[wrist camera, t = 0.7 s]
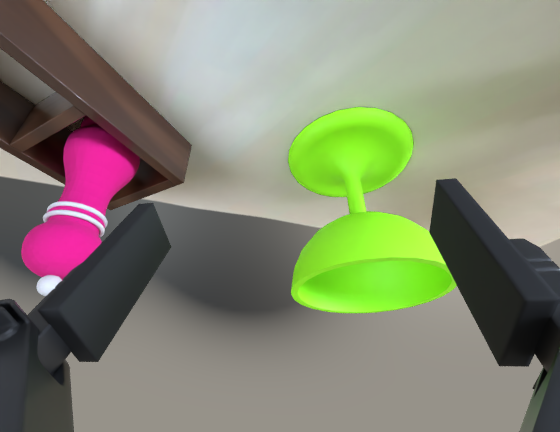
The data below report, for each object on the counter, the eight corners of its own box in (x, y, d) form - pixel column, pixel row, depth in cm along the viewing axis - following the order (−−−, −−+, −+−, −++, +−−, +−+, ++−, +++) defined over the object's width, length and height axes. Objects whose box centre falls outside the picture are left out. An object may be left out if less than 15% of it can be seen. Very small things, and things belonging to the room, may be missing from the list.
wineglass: (360, 204, 49) (380, 318, 40) (268, 177, 44) (266, 303, 34) (442, 135, 37) (501, 276, 27) (330, 85, 31) (353, 241, 22)
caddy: (122, 174, 43) (110, 210, 40) (-117, 9, 25) (-174, 49, 22) (191, 145, 38) (183, 182, 35) (-43, -84, 21) (-103, -51, 17)
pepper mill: (132, 158, 40) (79, 312, 30) (71, 128, 36) (-17, 295, 25) (159, 128, 36) (108, 295, 25) (93, 90, 32) (-2, 271, 21)
